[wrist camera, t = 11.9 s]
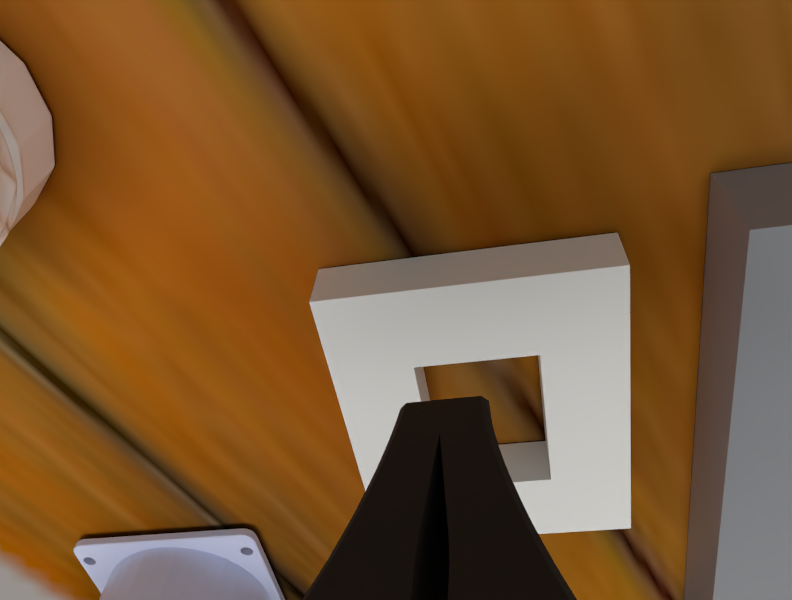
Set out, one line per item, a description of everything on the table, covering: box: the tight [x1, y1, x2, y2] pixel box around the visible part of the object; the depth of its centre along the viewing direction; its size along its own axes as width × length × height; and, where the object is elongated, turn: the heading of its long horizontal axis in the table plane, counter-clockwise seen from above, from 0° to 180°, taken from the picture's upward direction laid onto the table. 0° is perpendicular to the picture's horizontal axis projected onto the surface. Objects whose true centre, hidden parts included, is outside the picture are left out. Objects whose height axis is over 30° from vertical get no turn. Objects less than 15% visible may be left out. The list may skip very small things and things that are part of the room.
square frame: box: [309, 232, 631, 534], centre depth 24 cm, size 11×9×2 cm
